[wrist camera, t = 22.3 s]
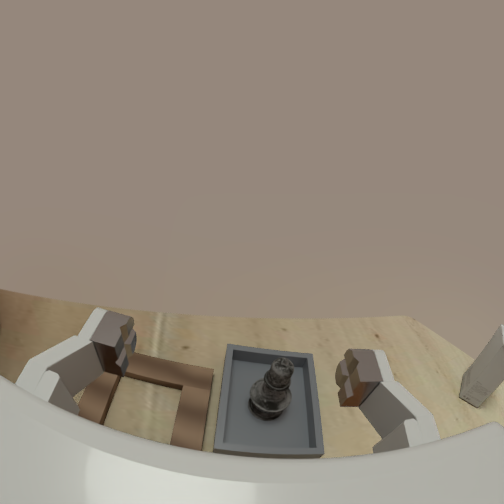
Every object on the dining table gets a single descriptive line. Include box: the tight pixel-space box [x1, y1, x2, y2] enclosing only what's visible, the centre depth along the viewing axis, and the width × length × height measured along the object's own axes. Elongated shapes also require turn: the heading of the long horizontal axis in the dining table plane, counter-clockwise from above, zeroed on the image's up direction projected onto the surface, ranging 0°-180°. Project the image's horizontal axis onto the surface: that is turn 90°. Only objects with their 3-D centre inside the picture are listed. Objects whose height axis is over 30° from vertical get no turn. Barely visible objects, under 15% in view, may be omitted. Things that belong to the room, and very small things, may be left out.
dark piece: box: [248, 357, 294, 421], centre depth 34 cm, size 6×6×12 cm
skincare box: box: [459, 324, 504, 407], centre depth 37 cm, size 8×7×16 cm
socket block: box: [78, 352, 214, 451], centre depth 33 cm, size 18×18×2 cm
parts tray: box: [213, 344, 324, 459], centre depth 36 cm, size 18×14×4 cm
